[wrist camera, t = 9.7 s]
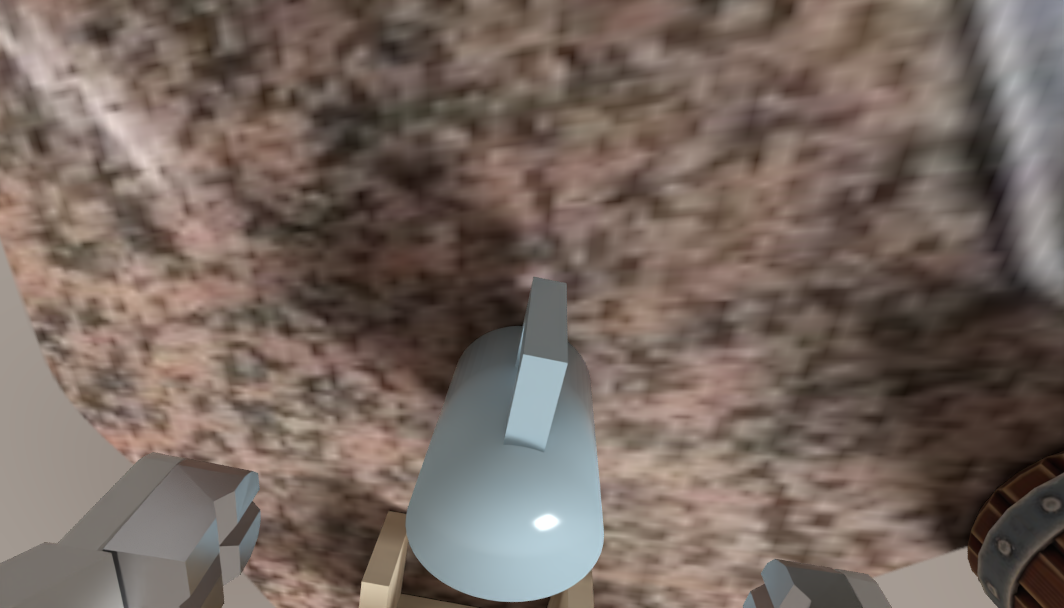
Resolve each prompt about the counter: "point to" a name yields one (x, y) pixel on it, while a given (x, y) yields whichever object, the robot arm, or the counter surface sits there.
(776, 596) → the robot arm
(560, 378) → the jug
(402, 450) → the counter surface
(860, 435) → the counter surface
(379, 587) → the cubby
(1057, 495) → the mug
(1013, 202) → the counter surface
